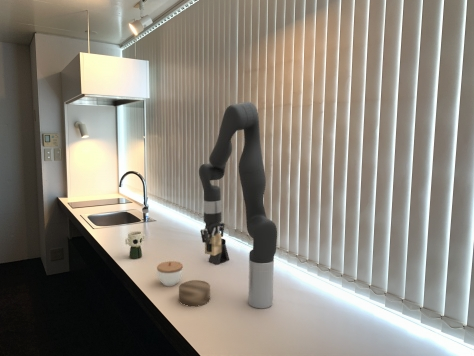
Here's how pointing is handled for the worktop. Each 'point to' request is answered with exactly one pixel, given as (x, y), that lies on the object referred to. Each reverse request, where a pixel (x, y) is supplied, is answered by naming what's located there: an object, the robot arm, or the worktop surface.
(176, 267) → the lidded jar
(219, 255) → the phone stand
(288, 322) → the worktop surface
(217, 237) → the oak block
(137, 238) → the character mug
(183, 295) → the walnut plinth
